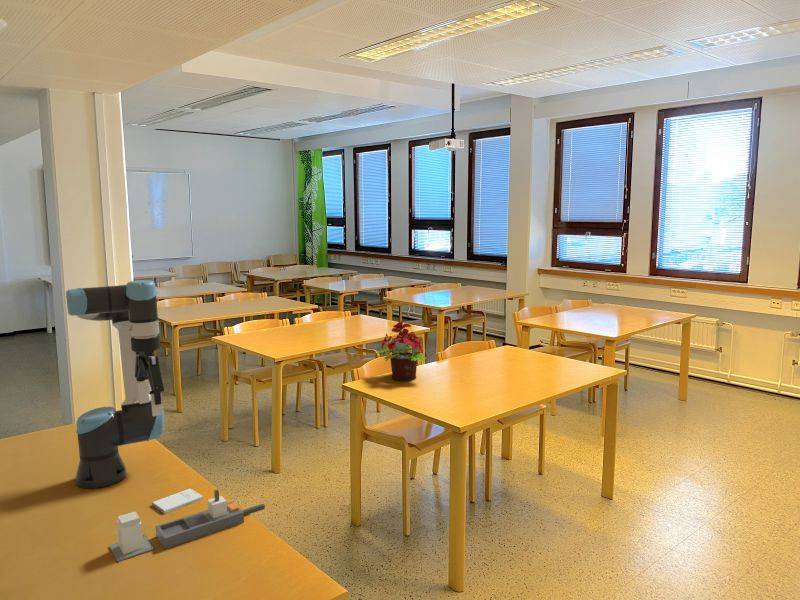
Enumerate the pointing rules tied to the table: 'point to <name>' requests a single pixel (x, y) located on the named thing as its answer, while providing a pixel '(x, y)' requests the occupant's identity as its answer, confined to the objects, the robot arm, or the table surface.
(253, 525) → the table surface
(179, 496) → the external hard drive
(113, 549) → the mat
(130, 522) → the block
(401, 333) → the potted plant
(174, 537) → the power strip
